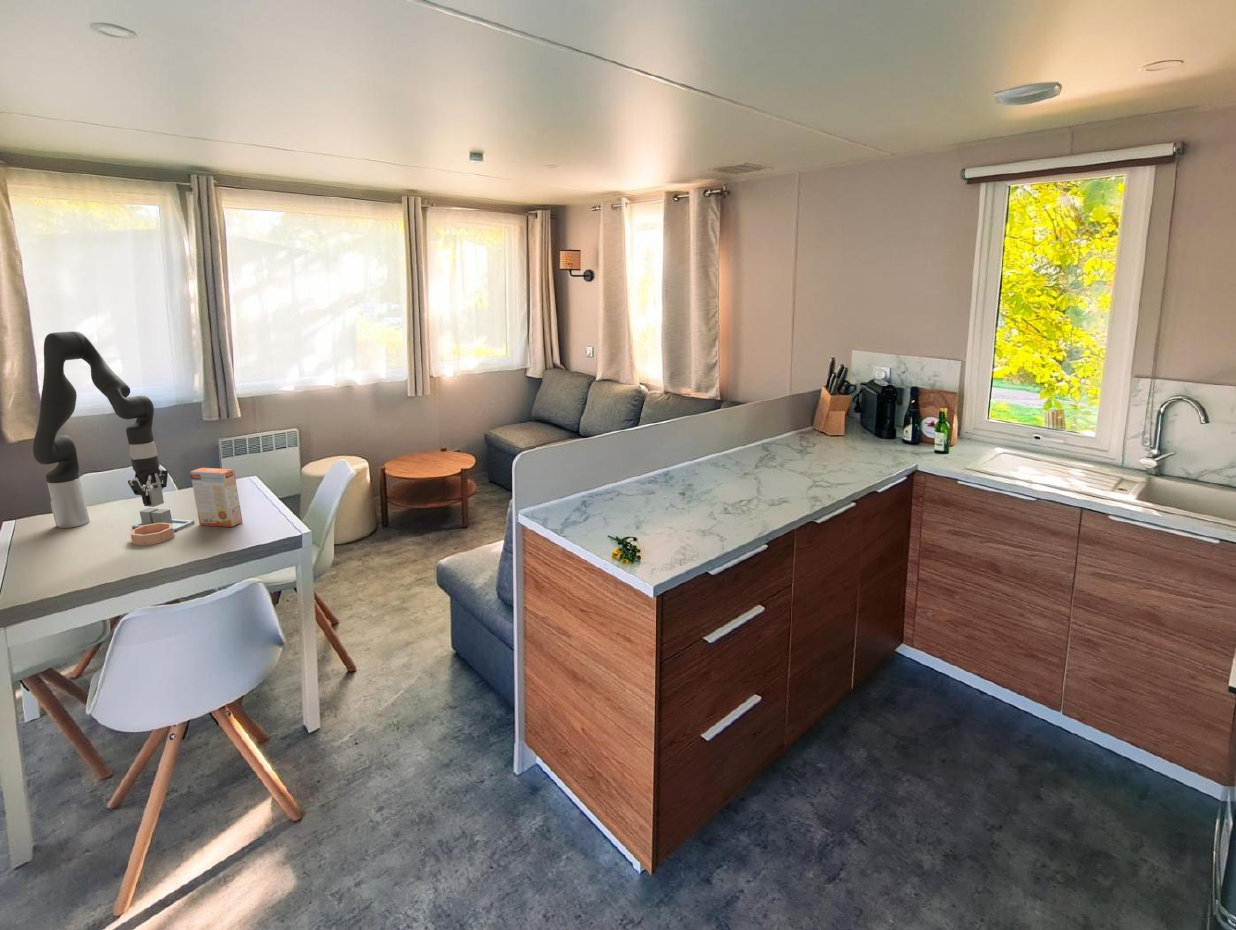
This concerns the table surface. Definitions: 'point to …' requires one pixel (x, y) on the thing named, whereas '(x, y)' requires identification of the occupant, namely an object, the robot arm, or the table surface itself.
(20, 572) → the table surface
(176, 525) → the tray
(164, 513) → the gray rectangular block
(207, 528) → the table surface
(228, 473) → the cracker box
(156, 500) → the grey rectangular block
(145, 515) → the gray block
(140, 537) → the bowl
